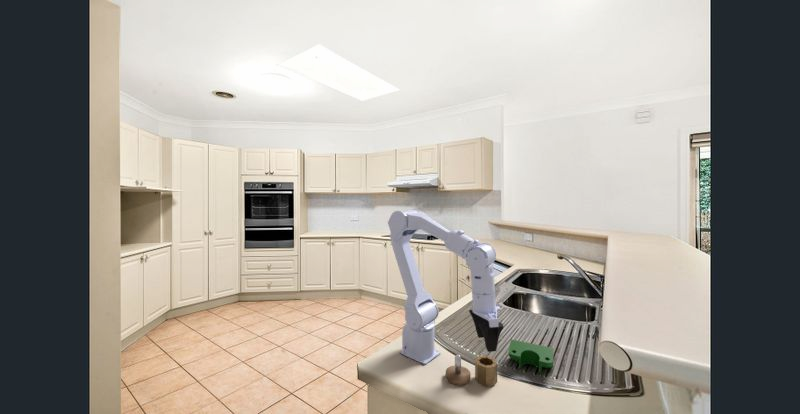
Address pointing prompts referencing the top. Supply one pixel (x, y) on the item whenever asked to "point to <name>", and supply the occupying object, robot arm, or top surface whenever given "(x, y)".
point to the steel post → (458, 364)
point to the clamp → (531, 354)
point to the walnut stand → (458, 376)
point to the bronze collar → (486, 371)
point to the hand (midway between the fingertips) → (486, 343)
